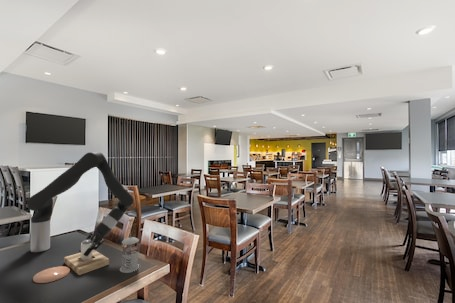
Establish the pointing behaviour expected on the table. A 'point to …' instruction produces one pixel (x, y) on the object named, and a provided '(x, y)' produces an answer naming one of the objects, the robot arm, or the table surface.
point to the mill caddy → (86, 262)
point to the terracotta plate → (51, 274)
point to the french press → (129, 254)
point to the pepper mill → (84, 247)
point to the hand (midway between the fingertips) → (82, 253)
